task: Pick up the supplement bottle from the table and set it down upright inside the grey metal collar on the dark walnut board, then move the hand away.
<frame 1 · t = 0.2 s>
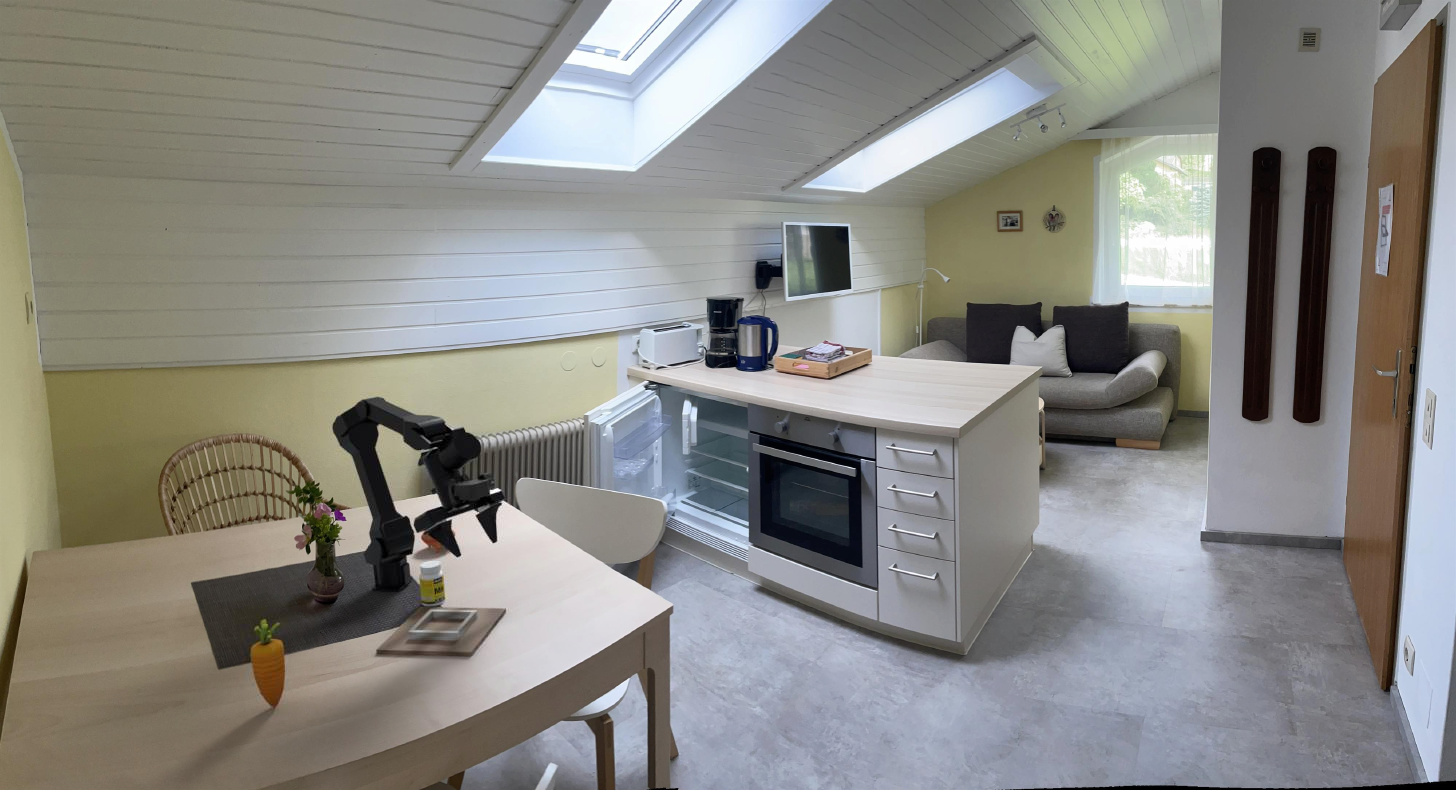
hand: (477, 549, 165), 14 cm above the table, tool tilted 30°, fingers open, 9 cm apart
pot: (439, 549, 206), on the table
supplement bottle: (433, 603, 176), on the table
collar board: (444, 632, 162), on the table
carrot: (274, 708, 137), on the table
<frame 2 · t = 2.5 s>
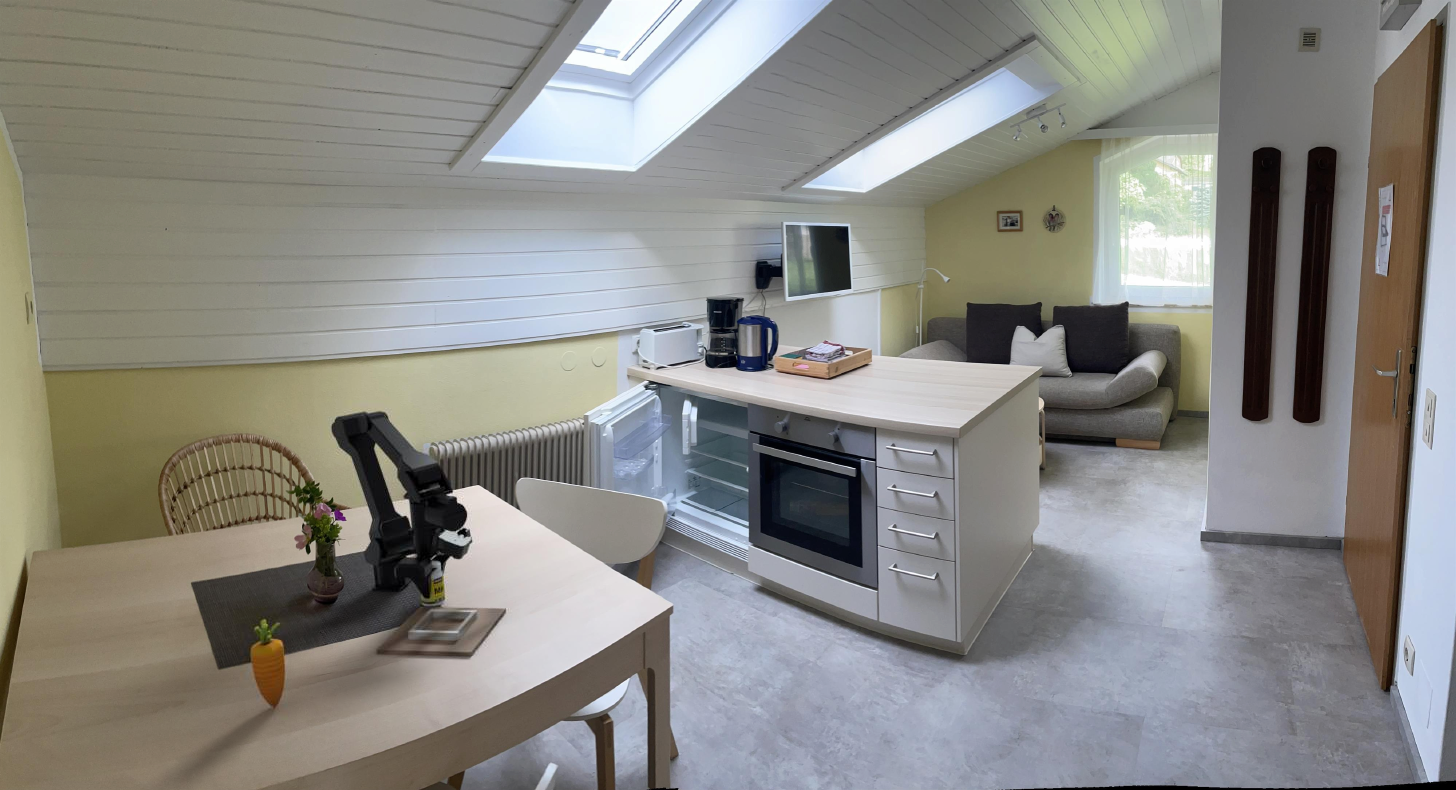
hand: (432, 593, 175), 2 cm above the table, tool pointing down, fingers closed on supplement bottle, 5 cm apart
supplement bottle: (433, 603, 176), on the table, touching gripper
everything else where it was.
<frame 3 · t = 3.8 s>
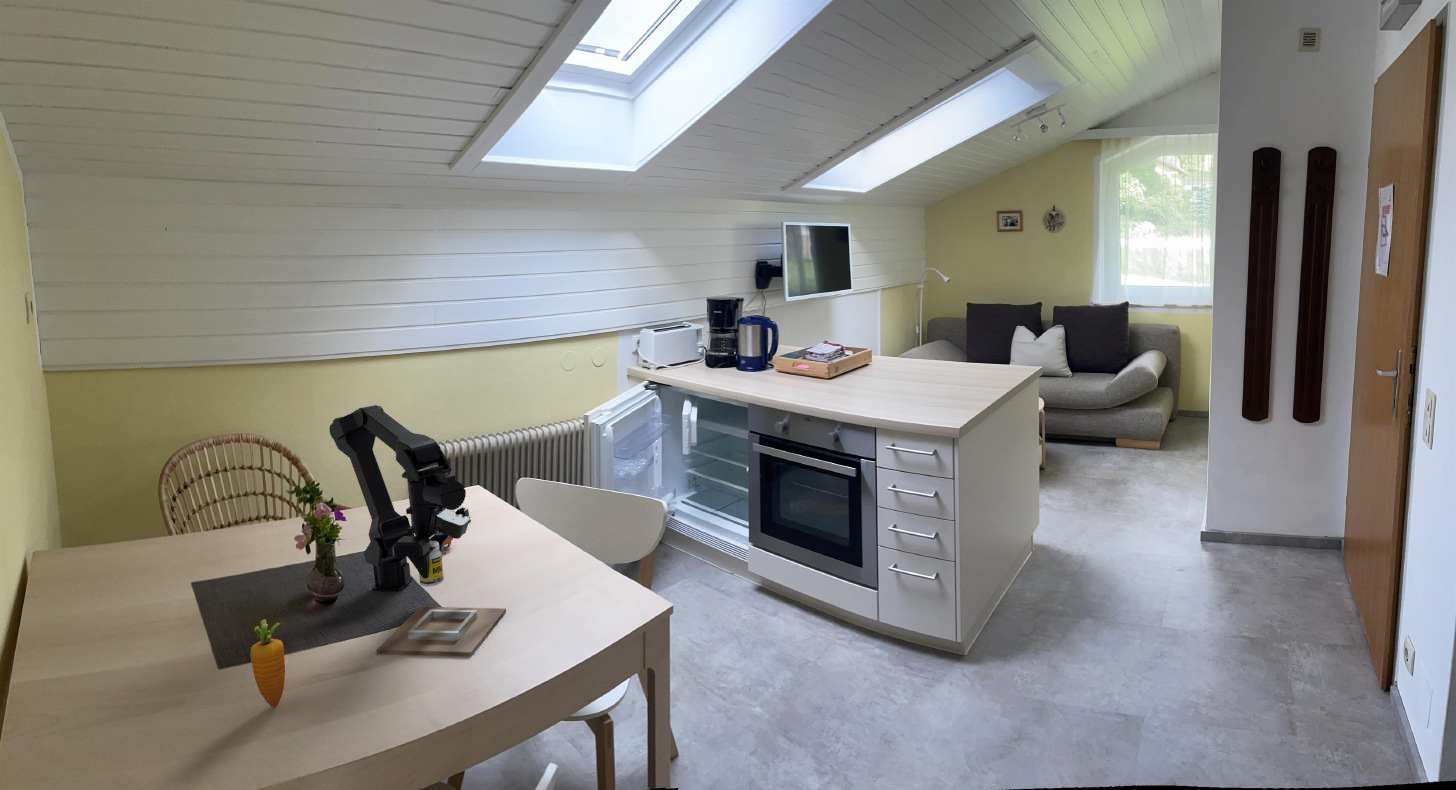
hand: (431, 573, 174), 6 cm above the table, tool pointing down, fingers closed on supplement bottle, 5 cm apart
supplement bottle: (432, 583, 175), point 4 cm above the table, touching gripper
everything else where it was.
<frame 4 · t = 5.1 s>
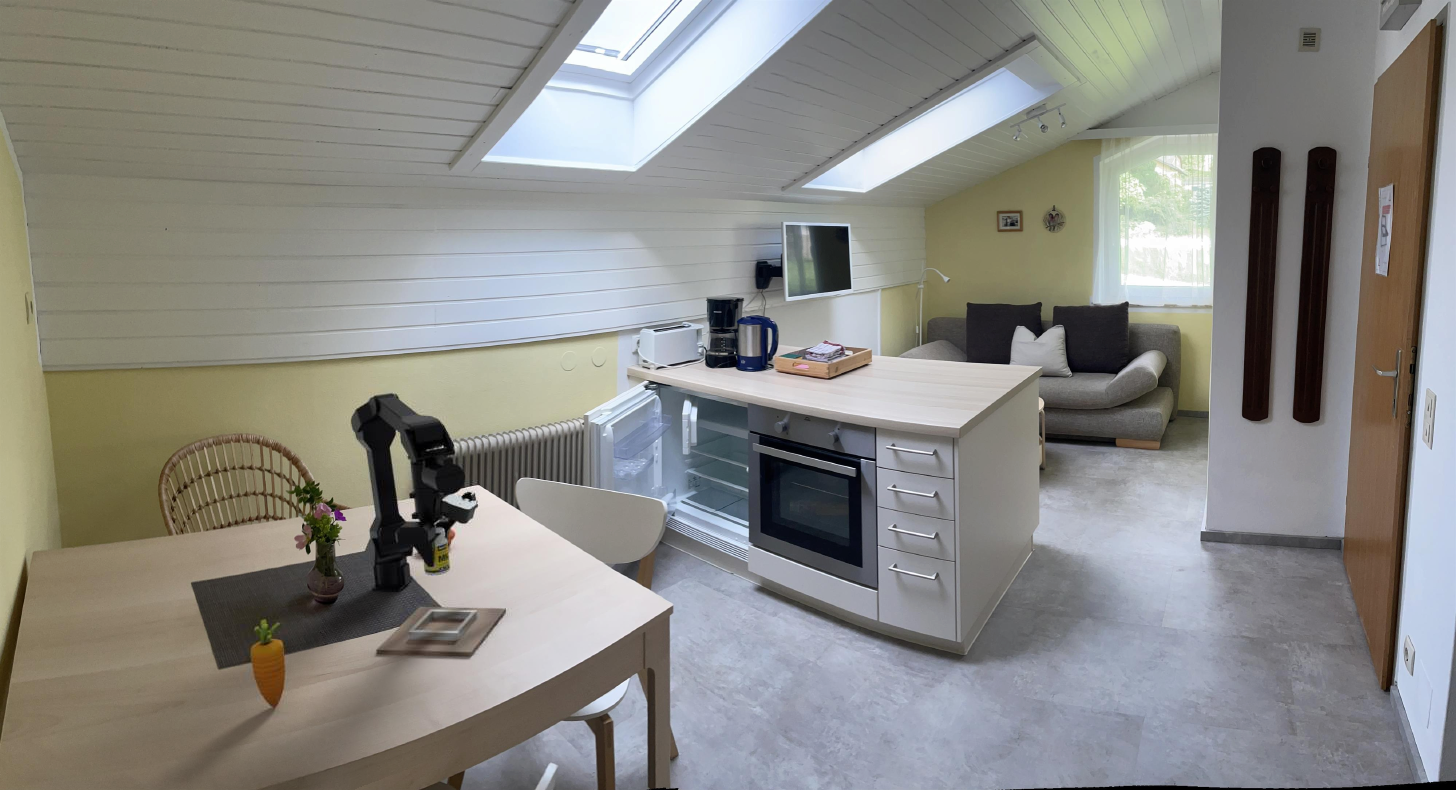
hand: (436, 561, 164), 13 cm above the table, tool pointing down, fingers closed on supplement bottle, 5 cm apart
supplement bottle: (437, 572, 165), point 10 cm above the table, touching gripper
everything else where it was.
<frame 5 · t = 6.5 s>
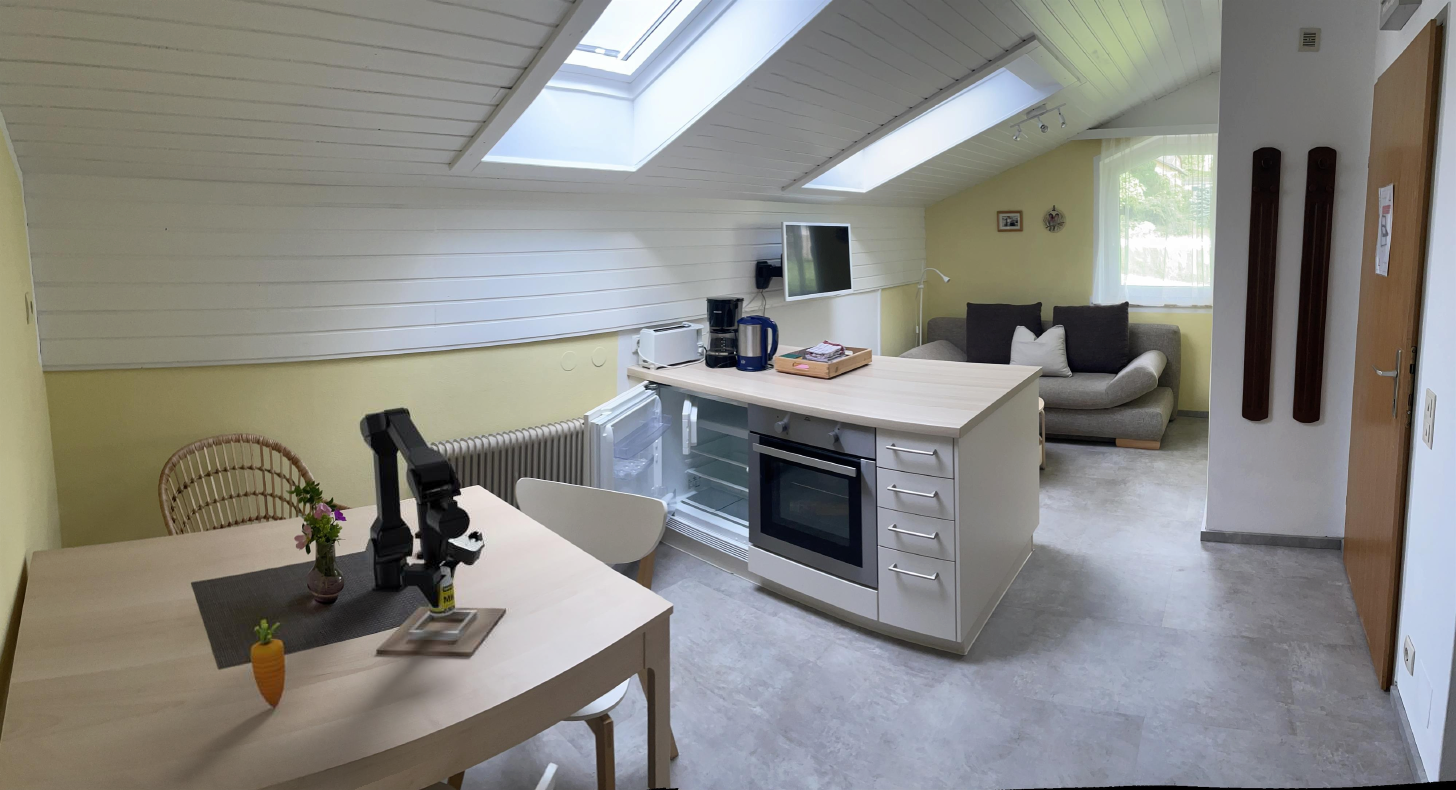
hand: (441, 601, 161), 6 cm above the table, tool pointing down, fingers closed on supplement bottle, 5 cm apart
supplement bottle: (442, 612, 162), point 4 cm above the table, touching gripper
everything else where it was.
when the fingers open (5 cm above the table, at t = 7.5 s): supplement bottle drops 2 cm, resting on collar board.
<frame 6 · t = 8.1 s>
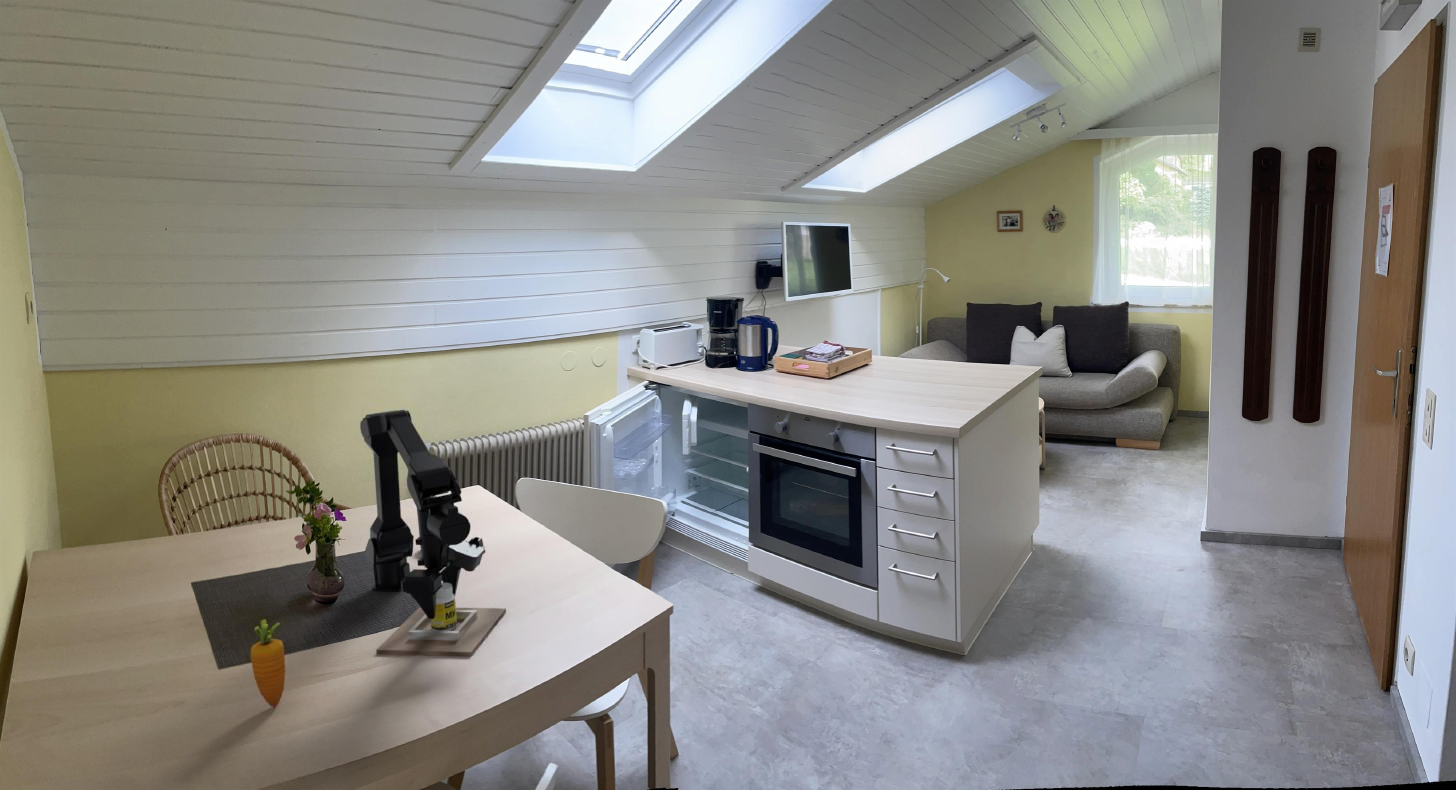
hand: (442, 607, 161), 5 cm above the table, tool pointing down, fingers open, 9 cm apart
supplement bottle: (444, 628, 162), point 1 cm above the table, touching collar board
everything else where it was.
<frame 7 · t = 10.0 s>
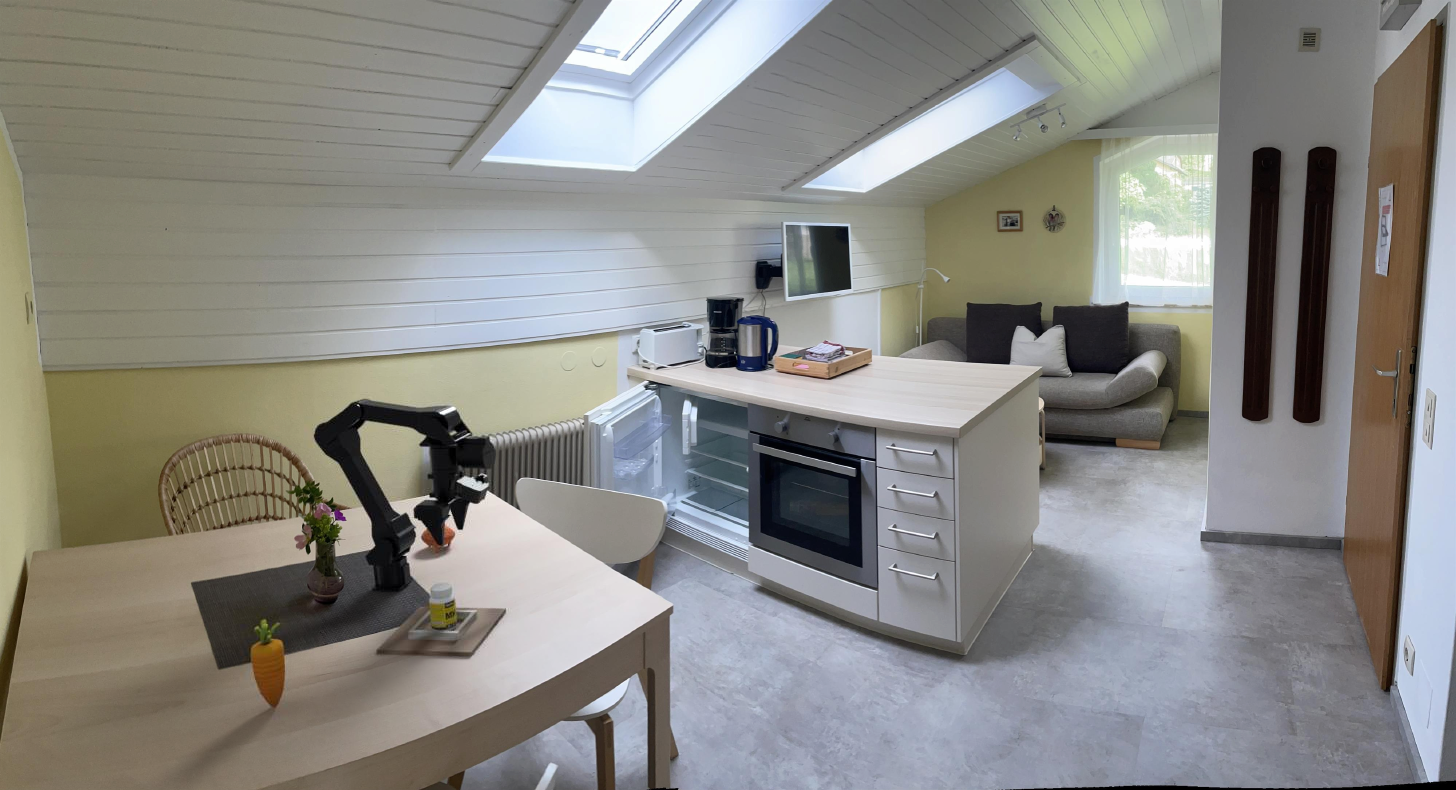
hand: (450, 537, 180), 12 cm above the table, tool pointing down, fingers open, 9 cm apart
nothing on the table moved.
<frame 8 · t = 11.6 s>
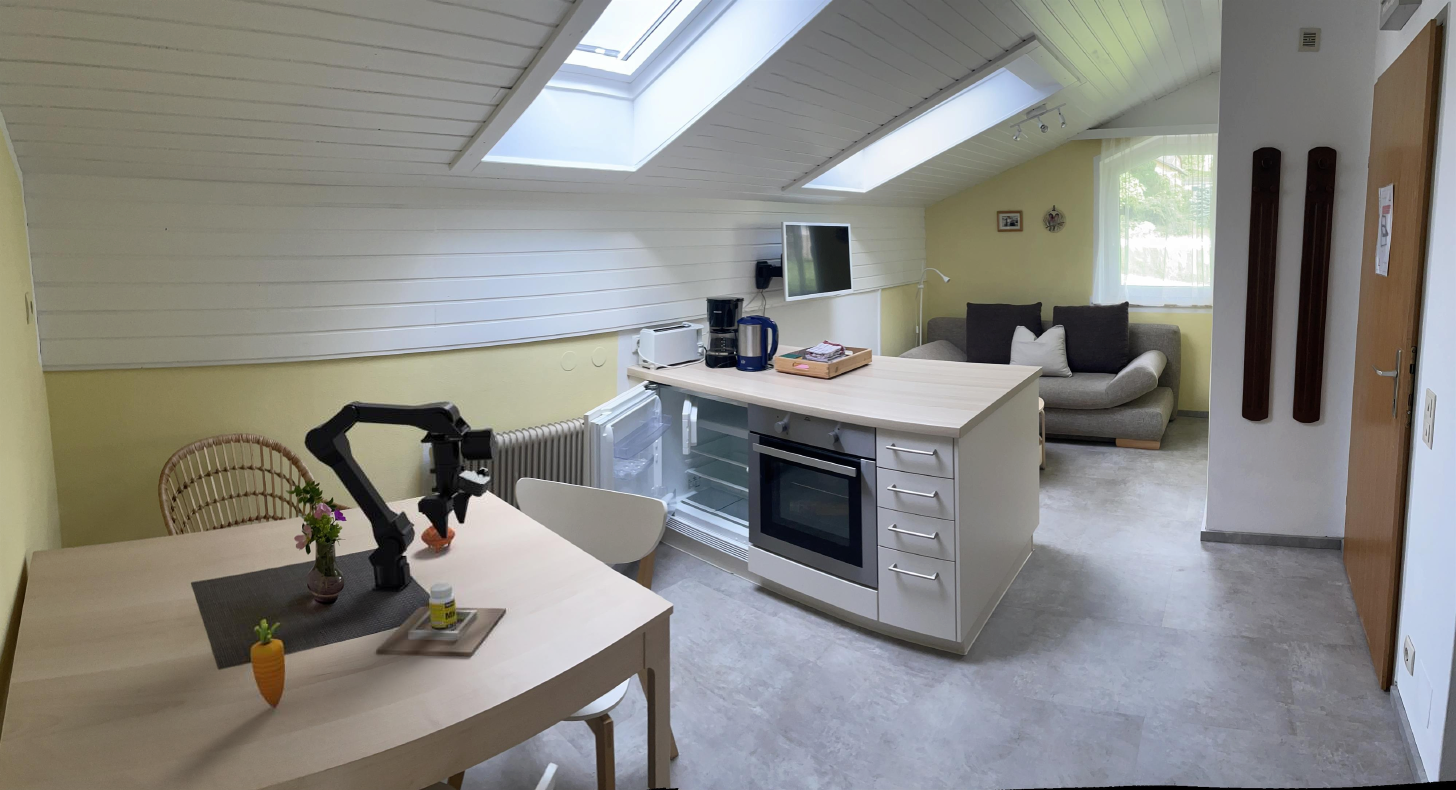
hand: (453, 530, 183), 12 cm above the table, tool pointing down, fingers open, 9 cm apart
nothing on the table moved.
at the end: supplement bottle 0.2 cm off-centre on the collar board, point 0.6 cm above the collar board's base; supplement bottle tilted 0°; the gripper is holding nothing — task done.
